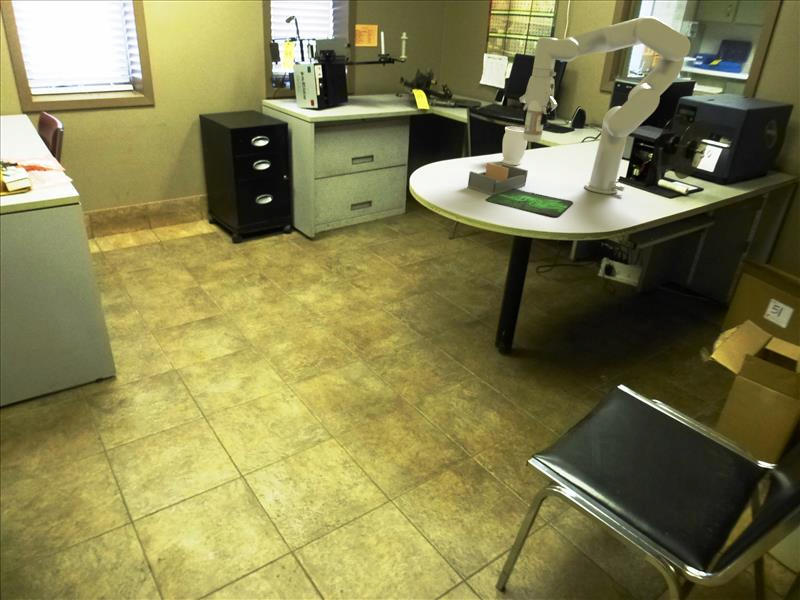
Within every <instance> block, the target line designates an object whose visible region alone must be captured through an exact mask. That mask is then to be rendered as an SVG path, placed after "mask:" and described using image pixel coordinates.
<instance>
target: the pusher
mask: <svg viewBox="0 0 800 600" xmlns="http://www.w3.org/2000/svg"><path fill="white" fill-rule="evenodd" d="M508 170H509V168H506V167H502V165H498V164H495V163H491V162H487V163H486V168H485V172H486V174H485V176H488V177H491V178H495V179H497V180H496V182H498V181H502V180H505V179H507V177H508Z"/></svg>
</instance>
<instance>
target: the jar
mask: <svg viewBox="0 0 800 600" xmlns="http://www.w3.org/2000/svg"><path fill="white" fill-rule="evenodd" d="M524 128H525V127H521V126H505V127H504V130H505V133H504V135H503V138H502V153H501V154H502V157H503V159H502V160H501V161H502V164H507V165H510V166H520V165H521V164H522V159H523V157H524V155H525V153H526V152H525V151H526V150H527V146H528V141H526V140H524V139H523V134H524Z"/></svg>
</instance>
